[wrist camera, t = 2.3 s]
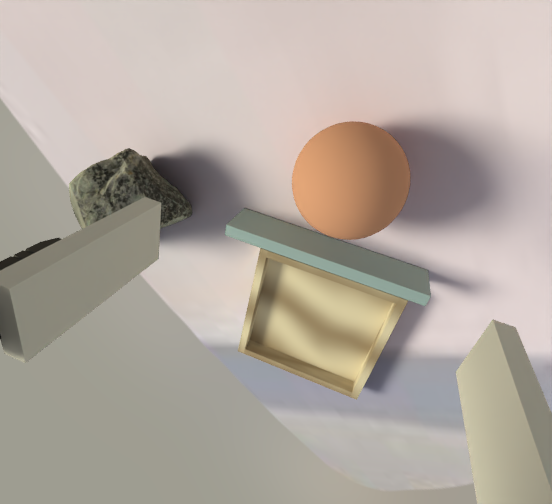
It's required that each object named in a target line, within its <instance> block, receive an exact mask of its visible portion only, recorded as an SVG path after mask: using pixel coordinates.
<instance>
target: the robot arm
mask: <svg viewBox="0 0 552 504" xmlns="http://www.w3.org/2000/svg"><path fill="white" fill-rule="evenodd" d="M160 219H161V202H158V201H155V200H152V199H149V198H146V197H144V198H142V199H140V200H138V201H136V202H134V203H132V204H130V205H128V206H126V207H124V208H122V209H120V210H118V211H116V212H114V213H112V214H111V215H109V216H107V217H105V218H103V219H101V220H99V221H97V222H95V223H93V224H91V225H89V226H87V227H85V228H83V229H81V230H79V231H77V232H75V233H73V234H71V235H69V236H68V237H66V238H63V239H60V238H55V239H51V240H47V241H43V242H40V243H38V244H35V245H33V246H31V247H30V248H27V249H26V251H21V252H19V253H17V254H15V255H14V257H9V258H7V259H5V260H3V261H1V262H0V339H1V342H2V346H3V350H4V353H5V354H7V355H9V356H11V357H13V358H16V359H18V360H20V361H22V362H24V363H26V362H27V361H29V360H30V359H31V358H33V357H34V356H35V355H37V354H38V353H39V352H40V351H41V350H43V349H44V348H46V347H47V346H48V345H49V344H51V343H52V342H53V341H54V340H56V339H57V338H58V337H59V336H61V335H62V334H63V333H65V332H66V331H67V330H68V329H69V328H71V327H72V326H73V325H75V324H76V323H77V322H79V321H80V320H81V319H82V318H83V317H85V316H86V315H87V314H89V313H90V312H91V311H92V310H94V309H95V308H96V307H98V306H99V305H100V304H101V303H103V302H104V301H105V300H106V299H108V298H109V297H110V296H112V295H113V294H114V293H115V292H117V291H118V290H119V289H120V288H122V287H123V286H124V285H126V284H127V283H128V282H129V281H131V280H132V279H133V278H135V277H136V276H137V275H138V274H140V273H141V272H142V271H143V270H145V269H146V268H147V267H149V266H150V265H151V264H152V263H154V262H155V261H156V260H157V259H159V240H160ZM456 376H457V382H458V388H459V394H460V400H461V406H462V412H463V418H464V425H465V431H466V437H467V443H468V449H469V455H470V461H471V467H472V473H473V479H474V485H475V492H476V498H477V503H478V504H552V413H551V411H550V408H549V406H548V404H547V401H546V399H545V397H544V394H543V392H542V389H541V387H540V385H539V382H538V380H537V377H536V375H535V373H534V370H533V368H532V365H531V363H530V361H529V358H528V356H527V354H526V351H525V349H524V346H523V344H522V342H521V339H520V337H519V334H518V332H517V330H516V328H515V327H513V326H510V325H507V324H504V323H501V322H498V321H496V320H492V321H491V323H490V324H489V326H488V327H487V328H486V330H485V331H484V333H483V334H482V336H481V337H480V338H479V340H478V341H477V343H476V344H475V346H474V347H473V348H472V350H471V351H470V353H469V354H468V356H467V357H466V358H465V360H464V361H463V363H462V364H461V366H460V367H459V368H458V370H457V371H456Z"/></svg>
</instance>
